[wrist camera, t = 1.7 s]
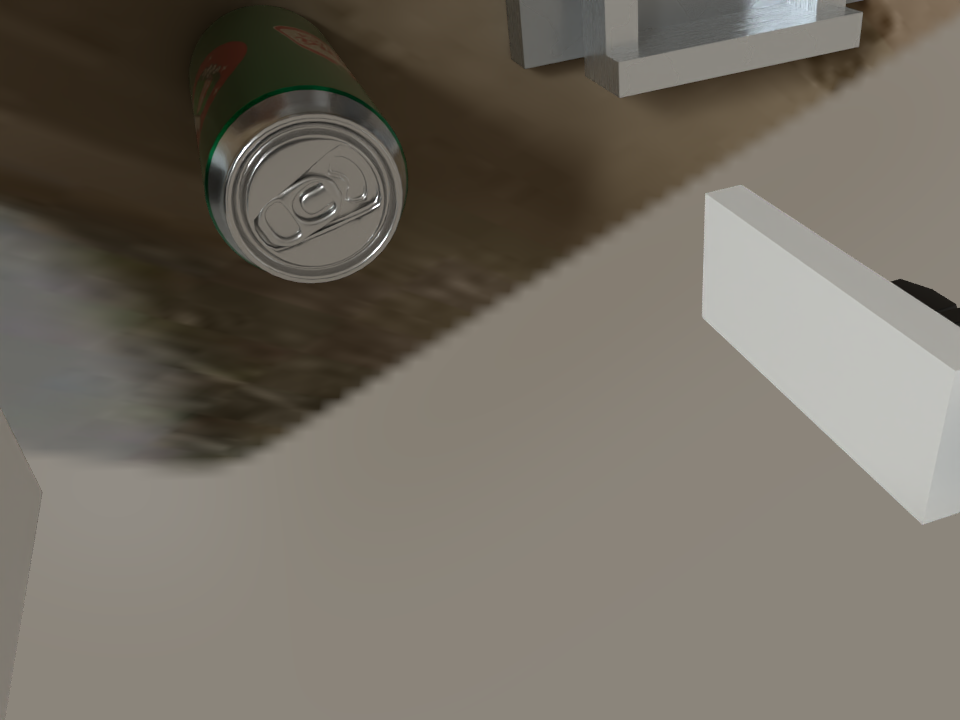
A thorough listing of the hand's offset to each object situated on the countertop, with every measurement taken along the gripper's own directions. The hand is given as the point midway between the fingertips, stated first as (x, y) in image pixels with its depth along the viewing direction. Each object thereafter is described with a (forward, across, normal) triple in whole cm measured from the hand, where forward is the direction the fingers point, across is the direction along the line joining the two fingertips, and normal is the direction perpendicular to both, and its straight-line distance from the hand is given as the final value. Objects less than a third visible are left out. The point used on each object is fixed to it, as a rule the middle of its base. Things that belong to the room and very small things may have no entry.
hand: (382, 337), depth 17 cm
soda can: (+19, 0, 0) cm, 19 cm away
